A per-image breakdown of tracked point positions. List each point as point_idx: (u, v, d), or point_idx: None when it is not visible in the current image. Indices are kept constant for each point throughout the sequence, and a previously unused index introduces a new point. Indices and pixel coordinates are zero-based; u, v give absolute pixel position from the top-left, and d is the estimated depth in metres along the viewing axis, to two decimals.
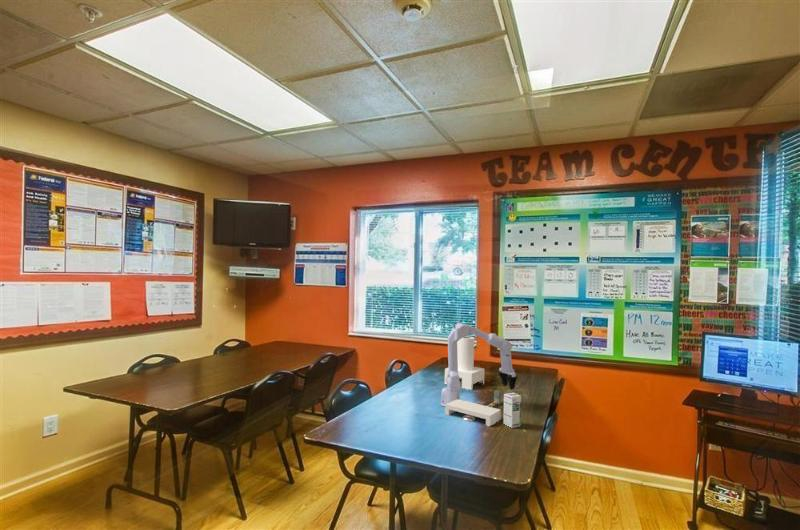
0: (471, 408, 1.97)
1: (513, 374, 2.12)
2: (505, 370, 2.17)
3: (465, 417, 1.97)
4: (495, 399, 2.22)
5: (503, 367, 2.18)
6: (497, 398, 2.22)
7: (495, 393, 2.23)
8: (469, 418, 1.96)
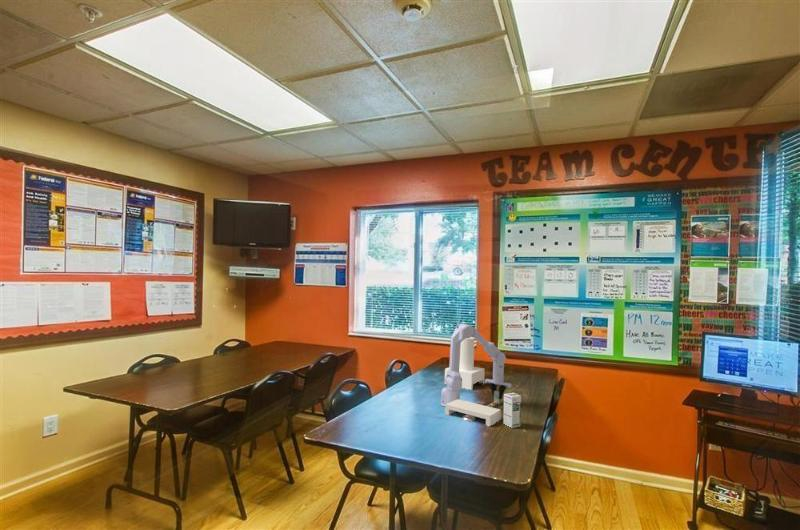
0: (471, 408, 1.97)
1: (510, 385, 2.19)
2: (499, 381, 2.21)
3: (465, 417, 1.97)
4: (495, 399, 2.22)
5: (498, 378, 2.21)
6: (497, 398, 2.22)
7: (495, 393, 2.23)
8: (469, 418, 1.96)
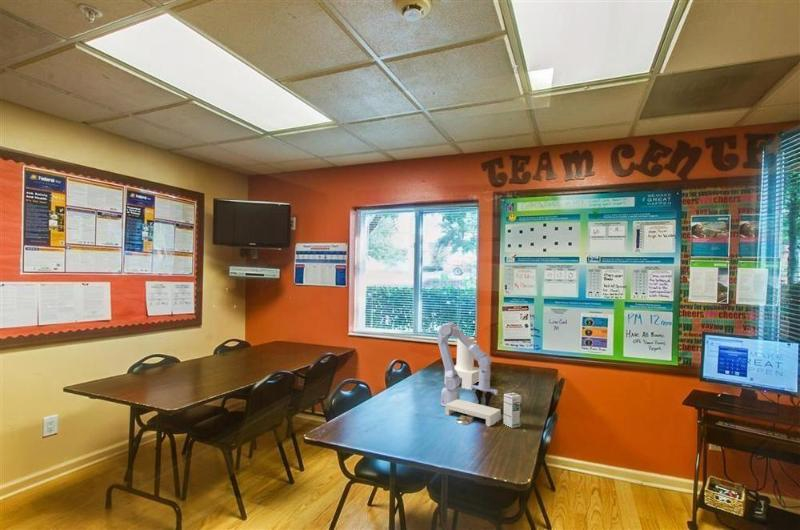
0: (471, 408, 1.97)
1: (496, 391, 2.05)
2: (486, 387, 2.07)
3: (459, 420, 1.93)
4: None
5: (484, 384, 2.07)
6: (484, 405, 2.09)
7: (482, 399, 2.10)
8: (462, 421, 1.92)
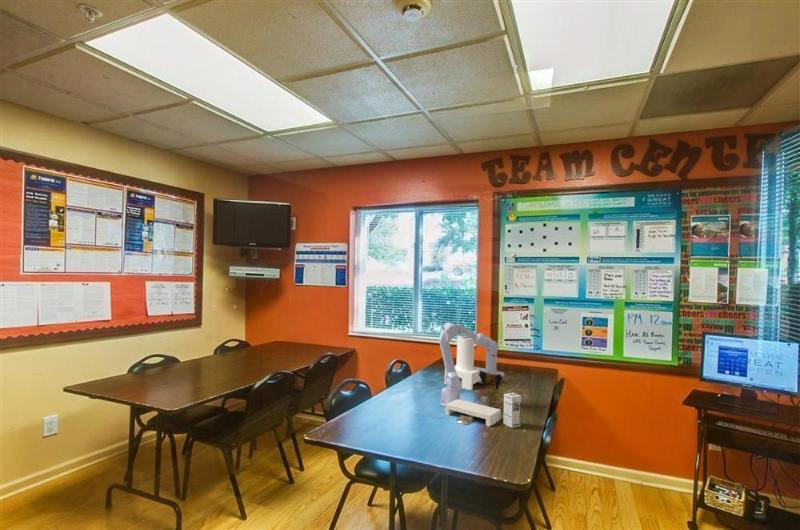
0: (471, 408, 1.97)
1: (503, 373, 2.16)
2: (492, 370, 2.18)
3: (459, 420, 1.93)
4: None
5: (491, 367, 2.18)
6: (484, 405, 2.09)
7: (482, 399, 2.10)
8: (462, 421, 1.92)
